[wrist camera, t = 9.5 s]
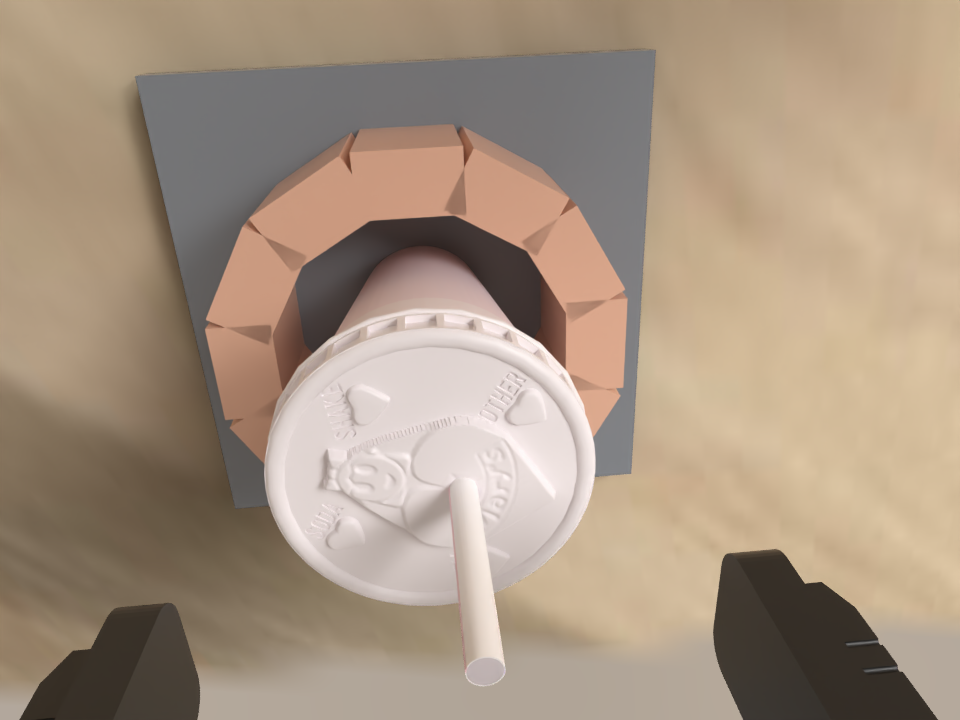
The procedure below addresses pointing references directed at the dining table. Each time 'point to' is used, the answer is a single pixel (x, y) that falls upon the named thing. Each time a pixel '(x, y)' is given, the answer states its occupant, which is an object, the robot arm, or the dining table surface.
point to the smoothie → (430, 450)
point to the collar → (406, 214)
